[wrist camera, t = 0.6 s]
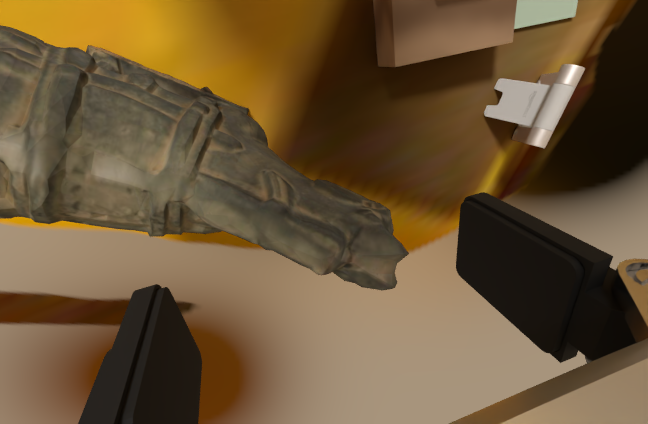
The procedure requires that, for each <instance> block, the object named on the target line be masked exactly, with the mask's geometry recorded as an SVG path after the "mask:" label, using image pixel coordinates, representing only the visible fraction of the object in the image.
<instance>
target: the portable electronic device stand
mask: <svg viewBox="0 0 648 424" xmlns="http://www.w3.org/2000/svg"><path fill="white" fill-rule="evenodd" d="M584 70H585V68H584V67H581V66H578V65H571V64H563V65H562V66H561V68H560V70H559V72H557V73H550V74H543V75H541V77H540V79H539V80H538V82H537V83H530V82H523V81H516V80H509V79H503V78H501V79H499V80H498V81H497V83H496V86H495V88H494V89H496V90H498V91H501V92H502V93H503V95H502V97H501V99H500V102H499V104H498V105H496V106H492V105H487V107H486V109H485V112H484V115H485V116H486V117H491V118H495V119H499V120H504V121H508V122H512V123H517V124H518V126H517V128H516V129H515V131H514V135H513V137H512V139H511V140H515V141H519V142H522V143H526V144H530V145H534V146H538V147H542V148H545V147H546V145H547V143H548V141H549V139H550V137H551V135H552V133H553V131H554V129H555V127H556V125H557V123H558V121H559V119H560V117H561V115H562V113H563V111H564V109H565V107H566V105H567V103H568V101H569V99H570V97H571V95H572V93H573V91H574V89H575V88H576V86H577V84H578V82H579V80H580V78H581V76H582V74H583V72H584Z"/></svg>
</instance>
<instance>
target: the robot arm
mask: <svg viewBox="0 0 648 424" xmlns="http://www.w3.org/2000/svg"><path fill="white" fill-rule="evenodd" d="M612 258H613V256H611V255H609V254H607V253H605V252H603V251H601V250H599V249H597V248H595V247H593V246H591V245H589V244H587V243H585V242H583V241H581V240H579V239H577V238H575V237H573V236H571V235H569V234H567V233H565V232H563V231H561V230H559V229H557V228H555V227H553V226H551V225H549V224H547V223H545V222H543V221H541V220H539V219H537V218H535V217H533V216H531V215H529V214H527V213H525V212H523V211H521V210H519V209H517V208H515V207H513V206H511V205H509V204H507V203H505V202H503V201H501V200H499V199H497V198H495V197H493V196H491V195H489V194H487V193H484V192H483V193H479V194H475V195H471V196H468V197H466V198H465V200H464V202H463V203H462V204H461V208H460V221H459V234H458V247H457V261H456V269H457V272H458V274H459V275H460V276H461V278H462V279H464V280H465V281H466V282H467V283H468V284H469V285H470V286H471V287H473V288H474V289H475V290H476V291H477V292H478V293H479V294H480V295H481V296H482V297H484V298H485V299H486V300H487V301H488V302H489V303H490V304H491V305H492V306H493V307H495V308H496V309H497V310H498V311H499V312H500V313H501V314H502V315H503V316H505V317H506V318H507V319H508V320H509V321H510V322H511V323H512V324H514V325H515V326H516V327H517V328H518V329H519V330H520V331H521V332H522V333H523V334H524V335H526V336H527V337H528V338H529V339H530V340H531V341H532V342H533V343H534V344H535V345H537V346H538V347H539V348H540V349H541V350H542V351H544V352H546V353H550V354H551V355H552V356H554V357H555V358H556V359H557V360H558V361H559V362H560V363H561V362H563V361H566V360H568V359H571V358H573V357H575V356H576V355H577V352H578V350H579V351H580V352H581V353H582V354H584V355H585V359H586V362H587V364H585V365H583V366H580V367H578V368H576V369H573V370H571V371H569V372H567V373H564V374H562V375H560V376H557V377H555V378H553V379H550V380H548V381H546V382H543V383H541V384H539V385H536V386H534V387H532V388H529V389H527V390H525V391H522V392H520V393H518V394H516V395H514V396H511V397H509V398H506V399H504V400H502V401H500V402H497V403H495V404H493V405H490V406H488V407H486V408H484V409H481V410H479V411H477V412H474V413H472V414H470V415H468V416H465V417H463V418H461V419H458V420H456V421H454V422H452V423H450V424H648V260H647V259H629V260H625V261H623V262H621V263H619V265H618V267H617V269H616V270H614V269H612V268H610V267H609V266H610V263H611V261H612ZM201 370H202V359H201V354H200V351H199V349H198V347H197V345H196V343H195V341H194V339H193V337H192V335H191V333H190V331H189V328H188V326H187V324H186V322H185V320H184V318H183V316H182V314H181V312H180V310H179V308H178V306H177V304H176V302H175V300H174V298H173V296H172V294H171V292H170V290H169V289H168V288H167V287H165V288H161V286H159V285H157V284H156V285H153V286H149V287H146V288H142V289H139V290H136V291H134V293H133V294H132V297H131V300H130V302H129V305H128V307H127V310H126V313H125V315H124V318H123V321H122V323H121V326H120V329H119V332H118V334H117V337H116V339H115V342H114V344H113V347H112V349H111V350H109V351H108V352H107V354H106V356H105V357H104V359H103V362H102V365H101V367H100V370H99V372H98V375H97V377H96V380H95V382H94V386H93V388H92V390H91V392H90V395H89V397H88V400H87V403H86V405H85V408H84V410H83V413H82V416H81V418H80V420H79V423H78V424H198V417H199V400H200V385H201Z"/></svg>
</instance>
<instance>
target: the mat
mask: <svg viewBox="0 0 648 424" xmlns="http://www.w3.org/2000/svg"><path fill="white" fill-rule="evenodd" d="M577 2H578V0H517V6H516V16H515V25H514V29H517V28H522V27H527V26H532V25H536V24H541V23H546V22H551V21H556V20H561V19H566V18H571V17H575V13H576V8H577Z"/></svg>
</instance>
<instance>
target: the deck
mask: <svg viewBox="0 0 648 424" xmlns="http://www.w3.org/2000/svg"><path fill="white" fill-rule="evenodd" d="M516 6H517V0H373V7H374V20H375V33H376V46H377V60H378V67H398V66H403V65H408V64H412V63H417V62H422V61H427V60H431V59H436V58H441V57H445V56H450V55H455V54H459V53H464V52H469V51H474V50H478V49H483V48H488V47H492V46H497V45H502V44H506V43H511V42H513V34H514V25H515V16H516Z"/></svg>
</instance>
